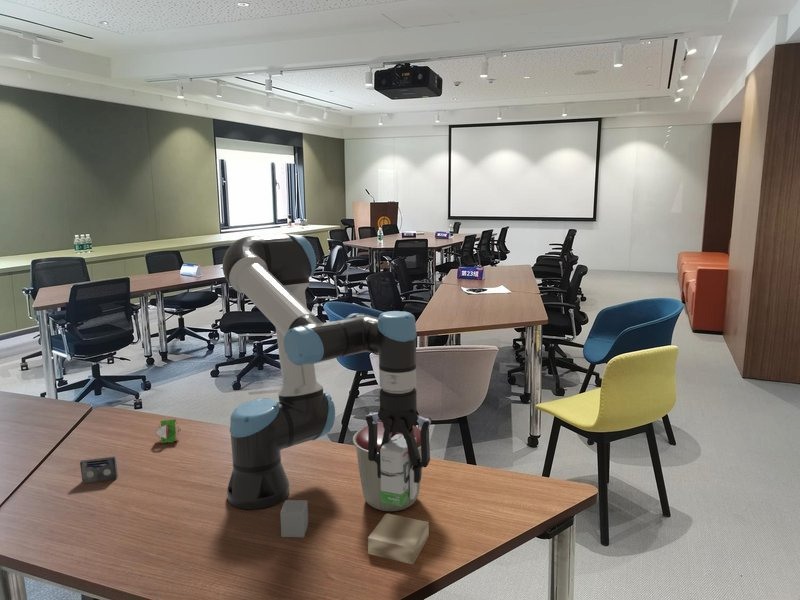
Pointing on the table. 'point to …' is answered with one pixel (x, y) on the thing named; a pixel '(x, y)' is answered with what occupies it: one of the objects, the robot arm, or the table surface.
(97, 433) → the table surface
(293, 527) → the grey block
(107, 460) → the mini dv tape
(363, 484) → the canister
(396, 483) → the ink box
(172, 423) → the geometric puzzle
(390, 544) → the oak block
